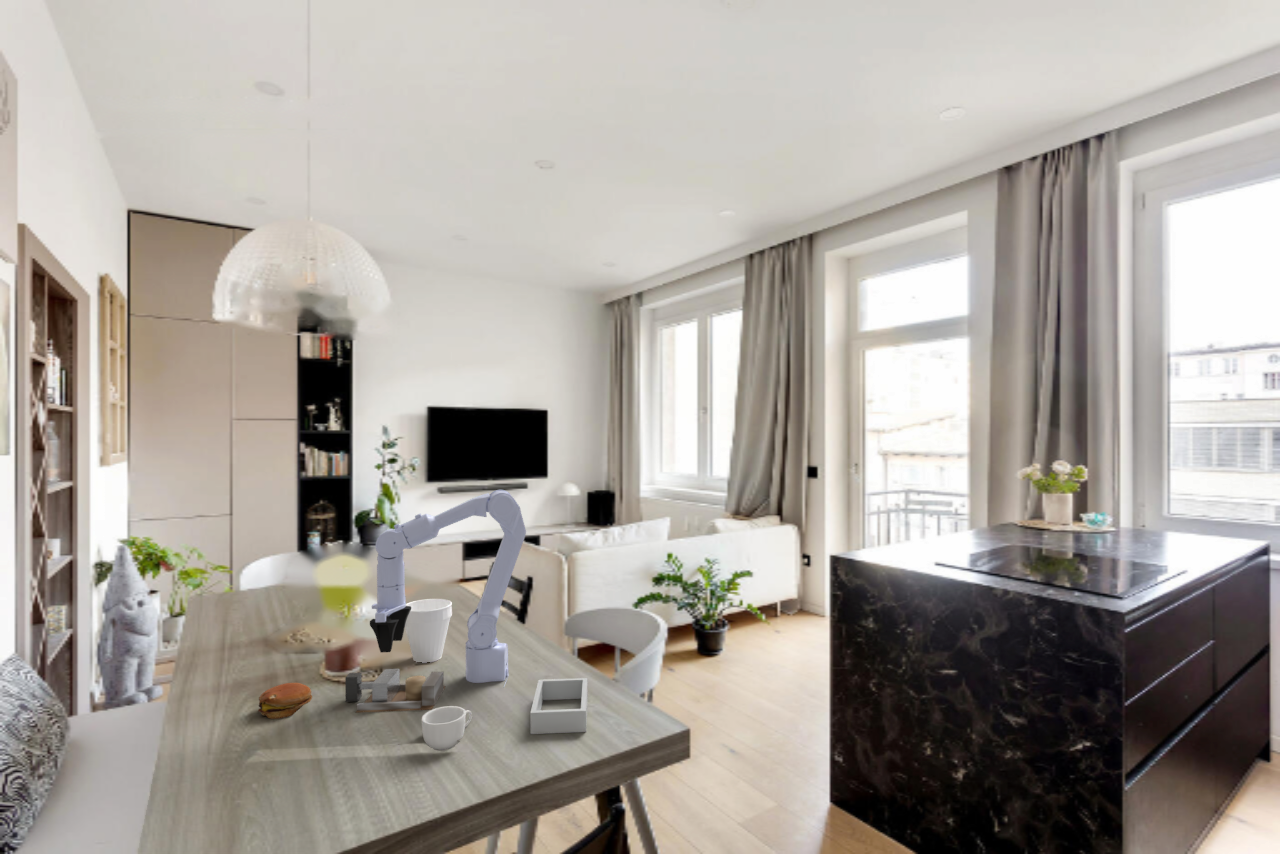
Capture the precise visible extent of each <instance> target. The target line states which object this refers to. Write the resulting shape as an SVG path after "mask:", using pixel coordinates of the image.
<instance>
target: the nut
mask: <svg viewBox="0 0 1280 854" xmlns="http://www.w3.org/2000/svg"><path fill="white" fill-rule="evenodd" d="M426 679H427V678H426V676H424V675H414V676H413V675H412V676H409V677H407V678H406V679H405V680H404V681H405V683H404V684H405V687H406V701H421V700H422V685H423V684H424V682H425V681H426Z"/></svg>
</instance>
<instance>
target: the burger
mask: <svg viewBox="0 0 1280 854" xmlns="http://www.w3.org/2000/svg"><path fill="white" fill-rule="evenodd" d="M312 698H313V695H312V690H311V688H310V687H309V686H308V685H306V684H304V683H300V682H285V683H282V684H278V685H276V686H275V685H274V686H273V687H270V688H268V689H266V690H265V691H264V692H262V693H261V694H260V696H259V697H258V701H259V703H258V708H259V709H258V712H259V713H260V714H261V715H262V716H266V717H267V718H268V719H271V720H272V719H273V720H277V719H283V718H290V717H292V716H293V715H294V714H295V713H296V712H298V711H299V710H300V709H301V708H302V707H303V706H305V705H306V704H308V703H310V702H311V700H312Z"/></svg>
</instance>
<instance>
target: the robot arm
mask: <svg viewBox="0 0 1280 854" xmlns="http://www.w3.org/2000/svg"><path fill="white" fill-rule="evenodd" d="M487 513H489V515H490V516H491V517H492V518H493V520H494V521H496V522H497V523H498V525H499V526H500V528H501V530H502V532H503V536H502V539H501V542H500V545H499V548H498V550H497V553H496V557H495V559H494V561H493V565H492V567H491V570H490V573H489V576H488V579H487V581H486V584H485V587H484V590H483V592H482V596H481V598H480V599H479V602H478V604H477V606H476V609H475V610H474V611H473V612H472V613H471V614H470V615H469V617H468V619H467V625H466V626H467V639H468V640H467V641H466V642H465V680H466V681H467V682H469V683H474V684H475V683H476V684H481V683H489V682H504V684H503V689H504V688H505V686H506V683H507V681H508V679H509V646H508V643H505V642H499V639H498V637H497V634H498V631H497V622H498V619H499V617H500V616H499V615H500V612H501V611H500V610H501V606H502V603H503V600H504V598H505V594H506V592H507V589H508V586H509V584H510V583H509V582H510V580H511V577H512V574H513V573H514V572H513V571H514V569H515V566H516V563H517V560H518V558H519V555H520V551H521V549H522V546H523V544H524V541H525V538H526V534H527V529H526V526H525V522H524V518H523V514H522V511H521V507H520V506H519V504H518V502H517V501H516V499H515V497H514V496H512V494H511V493H510V492H509V491H507V490H504V489H497V490H496V489H495V490H494V491H492V492H491V493H489V492H487V493H483V494H481V495H478V496H475V497H472V498H470V499H468V500H466V501H464V502H462V503H460V504H458V505H455V506H453V507H451V508H449V509H447V510H444V511H442V512H440V513H439V514H437V515H431V514H429V513H424V514H422V513H418V514H415V516H414V518H413V519H411V520H407V521H406V522H403V523H401V524H400V523H396V524H394V525H393V528H388V529H386V530H383V532H381V533H380V534H379V536H378V537H377V538H376V541H375V550H376V552H377V559H376V560H377V564H376V592H377V593H376V594H377V595H376V596H377V597H376V599H377V601H376V603H373V604H372V605H371V610H376V612H375V614H374V615H375V618H372V619H371V620H369V627H370V628H371V629H372V631H373V633H374V635H375V637H376V641H377V645H378V649H379V652H380V653H391V651H392V649H393V644H394V643H393V642H398V641H399V642H401V641H402V640H403V638H404V632H405V623H406V620H407V617H408V615H409V613H410V611H411V606H406V604H407V602H406V599H407V598H406V597H407V596H406V591H405V590H406V589H405V588H406V584H405V583H406V582H405V581H406V579H405V577H406V576H405V575H406V574H405V573H406V572H405V571H406V569H405V562H404V549H407V550H408V549H412V548H414V547H416V546H419V545H421V544H423V543H425V542H427V541H430V540H432V539H435V538H437V537H438V534H439V531H440V530H441V529H443V528H445V527H448V526H451V525H454V524H456V523H458V522H460V521H463V520H465V519H468V518H471V517H472V516H473V517H475V516H476V517H482V518H487Z"/></svg>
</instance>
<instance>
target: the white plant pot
mask: <svg viewBox="0 0 1280 854" xmlns="http://www.w3.org/2000/svg"><path fill="white" fill-rule="evenodd" d="M406 606H411V611H410V613H409V615H408V617H407V620H406V623H405V628H404V630H405V632H406V636H407V639H408V645H409V647H410V652H411V655H412V656H411V657H412V659H413V662H414V661H416V662H415V663H417V662H422V663H421V664H428V663H427V662H430V663H433V662H434V663H435V662H437V661H439V660H441V658H442V657H443V653H444V648H445V645H446V639H447V634H448V631H449V630H448V629H449V625H450V621H451V617H452V616H453V607H452V606H453V602H452V601H451V600H450V599H449V600H448V599H445V598H426V599H418V600H414V601H410V602H408V603H407V602H406Z"/></svg>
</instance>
